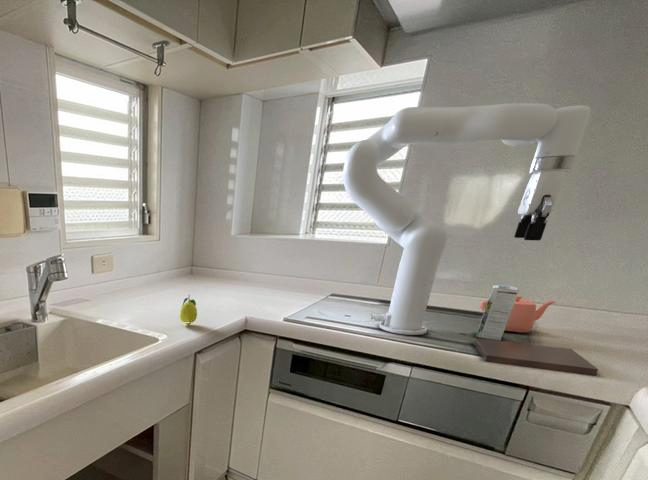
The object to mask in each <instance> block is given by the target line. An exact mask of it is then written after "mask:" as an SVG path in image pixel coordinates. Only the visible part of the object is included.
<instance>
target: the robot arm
mask: <svg viewBox="0 0 648 480" xmlns="http://www.w3.org/2000/svg"><path fill="white" fill-rule="evenodd" d="M591 111H592V110H591V107H590V106H589V105H569V106H563V107H558V108H554V107H553V106H552V105H550V104H547V103H540V102H539V103H536V102H534V103H533V102H532V103H530V102H528V103H525V102H523V103H522V102H521V103H498V104H486V105H485V104H484V105H468V106H412V107H404V108H402V109H400V110H399V111H397V112H396V113H395V114H394V115H393V116H392V117H391V118H390V120H389V121H388V122H387V123H385V125H383V126H382V127H381V128H380V129H378V130H377V131H376V132H374V133H373V134H372V135H370V136H369V137H367V139H363V140H360V141H358V142H356V143H355V144H353V145H352V147H351V148H350V149H349V151H348V152H347V155H346V157H345V161H344V165H343V169H342V182H343V187H344V189H345V192H346V194H347V195H348V197H349V198H350V199H351V201H352V202H354V204H356V205H357V207H358V208H360V209H361V210H362V211H363V212H364V213H365V214H366V215H368V216H369V217H370V218H371V219H372V220H374V223H375V225H376V226H377V227H378V228H379V229H380V230H381V231H382V232H384V234H386V235H387V236H388V237H389V238H391V239H392V240H393V241H394V242H396V243H397V244H398V245H399V246H400V247H402V248H403V249H402V254H401V258H400V261H399V265H398V268H397V271H396V272H397V273H396V276H395V277H396V278H395V282H394V285H393V290H392V295H391V299H390V304H389V308H388V311H386V313H382V314H380V313H379V314H378V313H373V312H372V313H370V318H369V319H370V320H373V321H375V322H380V323H379V328H380V329H381V330H383V331H386V332H388V333H393V334H398V335H404V336H405V335H407V336H421V335H425V334H427V331H428V328H427V327H426V326H424V325H423V322H424V319H425V315H426V311H427V309H428V304H429V300H430V296H431V293H432V290H433V285H434V282H435V277H436V274H437V271H438V267H439V264H440V261H441V259H442V256H443V253H444V250H445V248H446V246H447V241H448V234H447V231H446V228H445V227H444V226H443V225H442V224H441V223H439V222H438V221H435V220H430V219H428V218H427V217H425V215H423V214H422V213H421V212H420V211H418V209H416V208H415V206H414V204H413V203H412V200H409V198H406V197H405V196H403V195H402V194H401V193H400V192H398V191H397V190H395V189H394V188H393V187H392V186H390V184H388V182H386V181H385V179H383V178H382V177H381V176H380V174H379V172H378V169H377V167H379V166H380V165H381V164H383V163H384V162H386V161H388V160H390V158H392V157H393V156H394V155H396V154H397V153H398V152H400V151H401V150H402V149H404V148H405V147H406V146H407V145H413V146H414V145H415V146H447V147H448V146H449V147H450V146H459V145H465V144H469V143H475V142H484V141H501V142H502V143H503V144H504V145H506V146H509V147H521V146H525V145H526V146H527V145H531V144H537V146H536V148H535V149H536V150H535V153H534V155H533V159H532V163H531V165H530V168H529V171H528V174H529V175H531V176H530V178H529V180H528V183H527V185H526V188H525V190H524V193H523V196H522V199H521V202H520V204H519V207H518V209H517V214H518V215H520V218H519V222H518V224H517V226H516V229H515V232H514V236H513V237H514V238H515V239H523V240H524V241H541V240H542V238H543V235H544V232H545V229H546V226H547V223H548V222H549V221H548V220H549V216H550V214H551V213H552V212H553V210H554V207H555V205H556V202H557V200H558V196H559V193H560V190H561V187H562V184H563V181H564V176H565V174H566V173H570V172H571V170H572V167H573V164H574V161H575V159H576V156H577V153H578V150H579V147H580V144H581V142H582V139H583V136H584V133H585V130H586V128H587V125H588V121H589V119H590V116H591Z"/></svg>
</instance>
